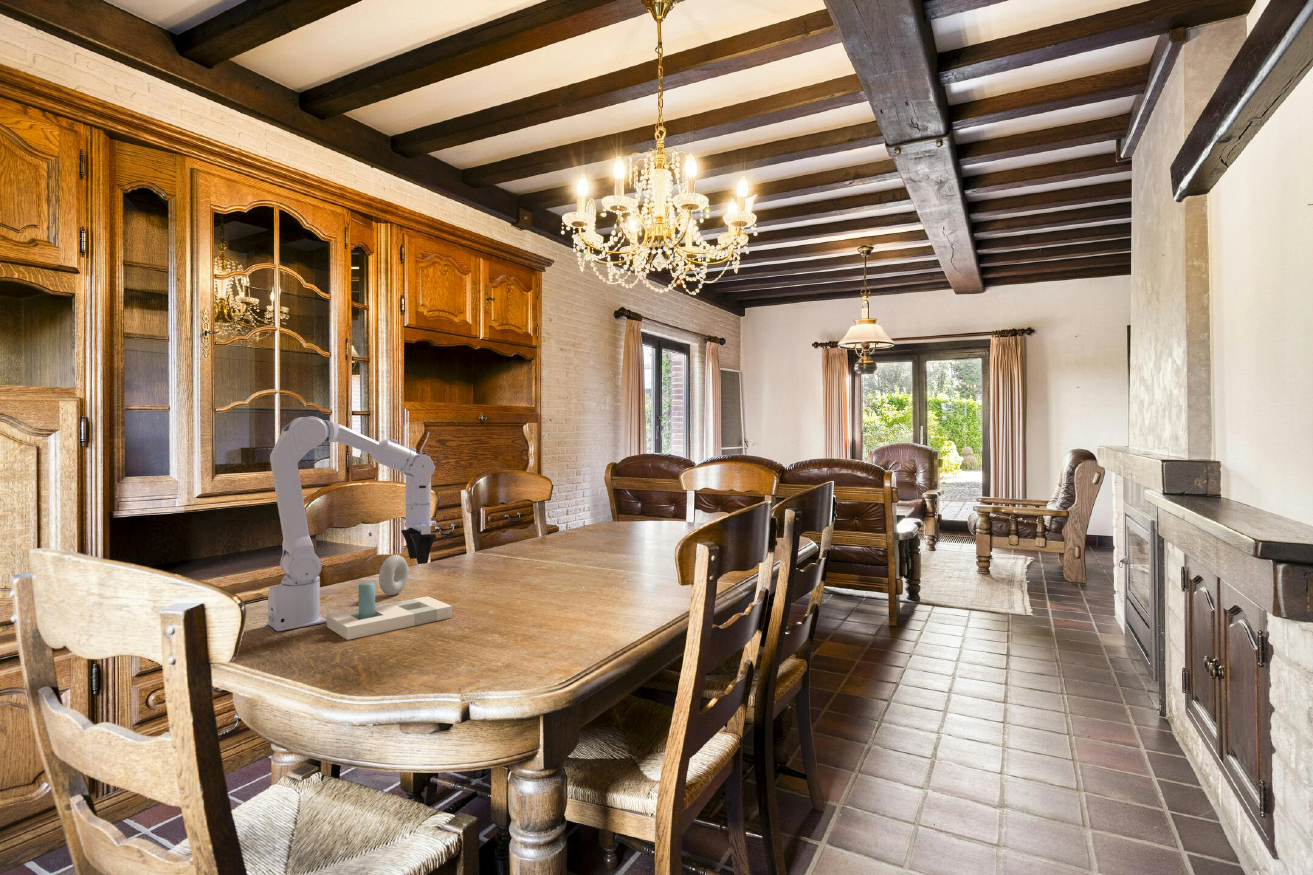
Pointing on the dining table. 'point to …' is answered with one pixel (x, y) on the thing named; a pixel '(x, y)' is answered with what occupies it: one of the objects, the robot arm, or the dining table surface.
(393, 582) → the donut
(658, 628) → the dining table surface
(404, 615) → the peg board
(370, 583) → the peg
